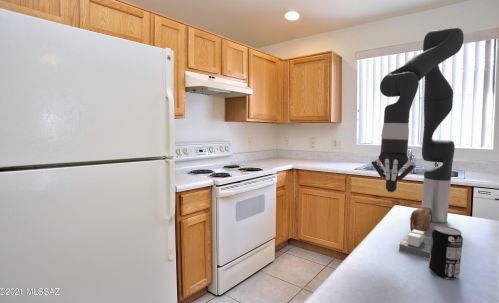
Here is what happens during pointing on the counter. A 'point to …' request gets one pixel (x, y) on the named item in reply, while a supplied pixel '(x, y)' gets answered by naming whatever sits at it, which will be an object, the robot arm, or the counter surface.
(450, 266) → the beverage can
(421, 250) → the switch panel
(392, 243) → the counter surface
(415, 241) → the tab
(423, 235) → the tab
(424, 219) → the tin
